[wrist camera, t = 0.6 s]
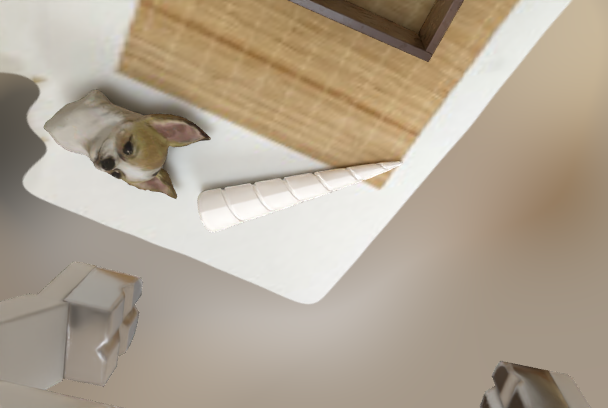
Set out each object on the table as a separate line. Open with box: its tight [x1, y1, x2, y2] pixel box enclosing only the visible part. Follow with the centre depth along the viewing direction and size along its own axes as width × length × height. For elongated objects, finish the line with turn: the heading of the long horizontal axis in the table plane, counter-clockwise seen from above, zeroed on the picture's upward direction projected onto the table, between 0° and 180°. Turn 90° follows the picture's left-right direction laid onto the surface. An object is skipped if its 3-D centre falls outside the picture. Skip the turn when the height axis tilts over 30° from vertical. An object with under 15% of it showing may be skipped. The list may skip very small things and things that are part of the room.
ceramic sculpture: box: [44, 90, 211, 199], centre depth 57 cm, size 11×9×15 cm
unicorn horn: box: [197, 161, 403, 233], centre depth 61 cm, size 5×24×5 cm, turn 102°
